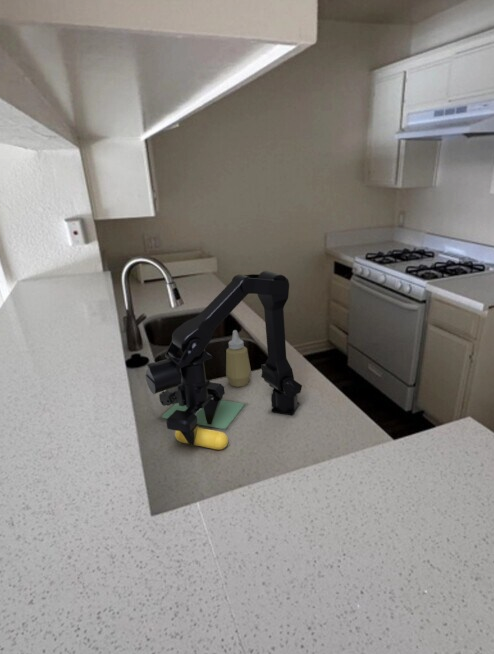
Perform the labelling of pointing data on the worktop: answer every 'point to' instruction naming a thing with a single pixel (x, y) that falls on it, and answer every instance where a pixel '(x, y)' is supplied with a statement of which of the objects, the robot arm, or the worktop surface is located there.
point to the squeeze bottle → (237, 362)
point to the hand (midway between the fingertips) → (201, 434)
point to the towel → (222, 416)
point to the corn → (206, 438)
